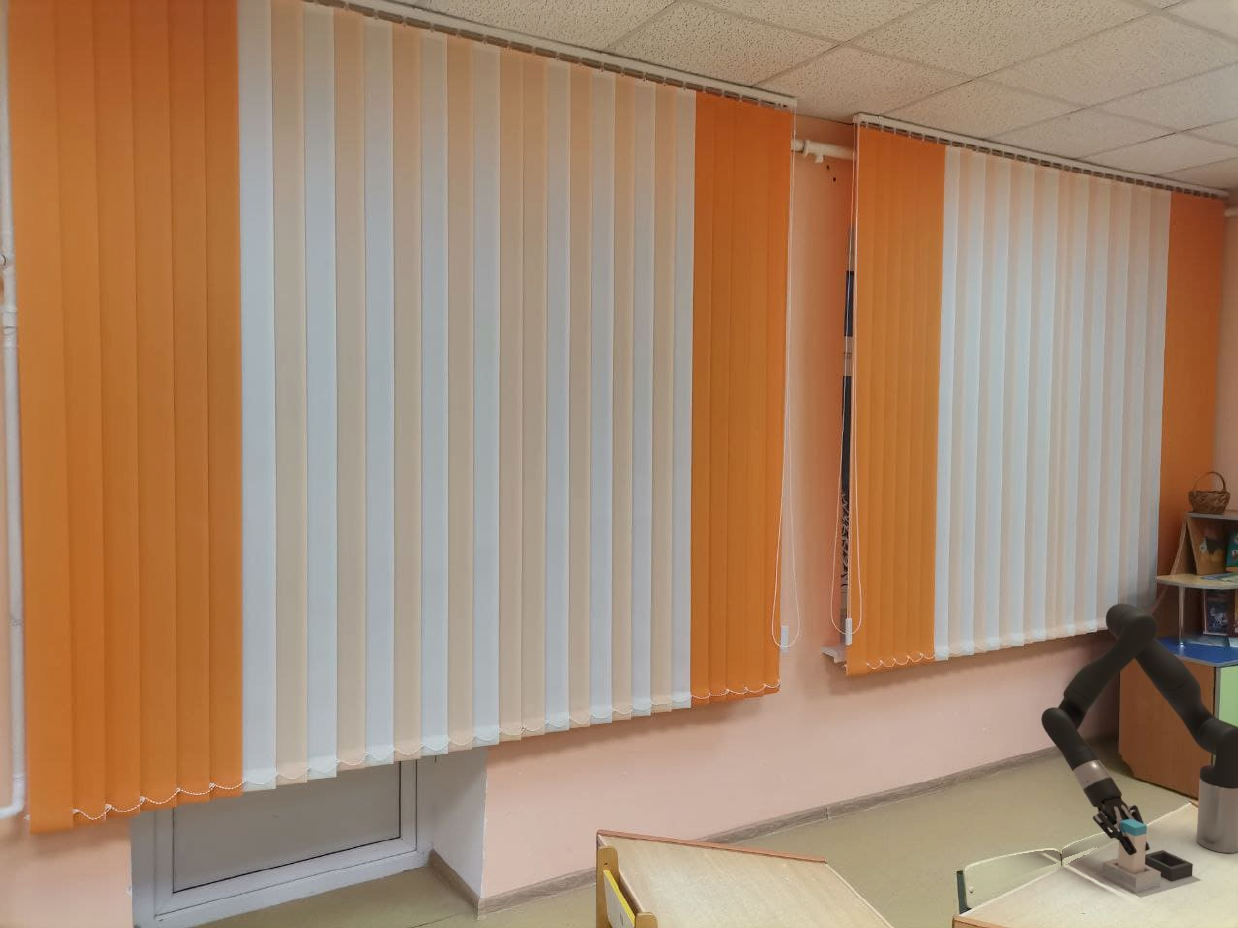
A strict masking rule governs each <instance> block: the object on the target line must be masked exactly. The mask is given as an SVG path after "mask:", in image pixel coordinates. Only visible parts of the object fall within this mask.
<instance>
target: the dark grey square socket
mask: <svg viewBox="0 0 1238 928" xmlns="http://www.w3.org/2000/svg"><path fill="white" fill-rule="evenodd" d="M1145 865H1147V866H1149V867H1151V868H1153V869H1155V870H1157V871H1160V872H1161V877H1163V878H1165V879H1167V880H1169V881H1171V882H1172V881H1176V880H1179V879H1183V878H1186V877H1190V876H1193V867H1194V866H1193V865H1194V864H1193V863H1191V862H1190V861H1188V860H1185V859H1183V858H1181V857H1179V856H1176V854H1175V855H1174V854H1172V853H1170V852H1167V851H1165V850H1163V849H1161V850H1157V851H1154V852H1149V853H1145Z"/></svg>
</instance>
